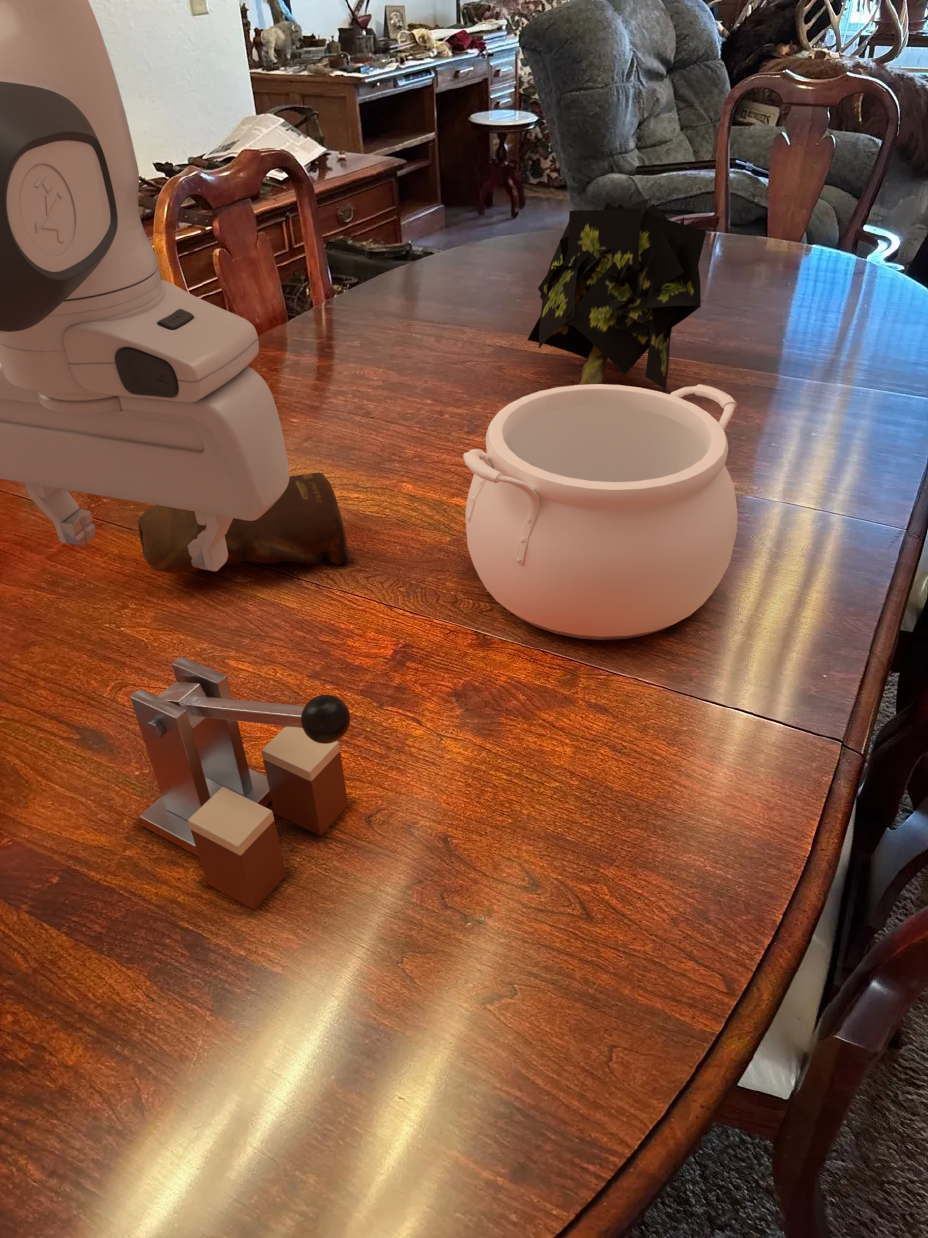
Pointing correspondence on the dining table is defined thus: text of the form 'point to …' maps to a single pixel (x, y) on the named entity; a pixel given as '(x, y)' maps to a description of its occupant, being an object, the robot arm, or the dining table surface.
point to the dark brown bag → (255, 530)
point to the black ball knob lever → (264, 711)
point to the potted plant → (620, 288)
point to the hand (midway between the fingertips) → (144, 552)
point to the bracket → (192, 756)
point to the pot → (603, 508)
